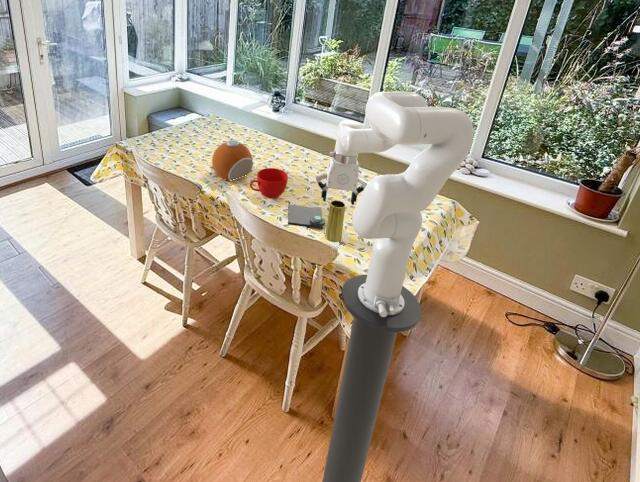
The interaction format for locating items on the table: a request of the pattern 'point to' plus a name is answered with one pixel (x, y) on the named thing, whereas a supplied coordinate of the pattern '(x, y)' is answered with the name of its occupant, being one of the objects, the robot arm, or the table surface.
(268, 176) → the ceramic cup
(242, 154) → the alarm clock
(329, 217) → the vase
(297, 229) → the table surface
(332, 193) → the table surface
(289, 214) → the scale
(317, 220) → the button
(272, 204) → the table surface
